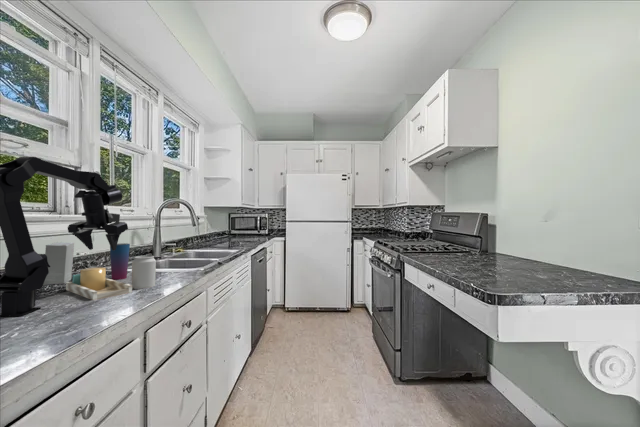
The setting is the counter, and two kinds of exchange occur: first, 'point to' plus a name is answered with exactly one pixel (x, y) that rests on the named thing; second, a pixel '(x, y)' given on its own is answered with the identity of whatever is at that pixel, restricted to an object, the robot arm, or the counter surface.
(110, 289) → the tray
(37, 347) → the counter surface
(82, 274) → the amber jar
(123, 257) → the cup
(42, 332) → the counter surface
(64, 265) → the skincare box
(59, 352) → the counter surface
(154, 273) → the can
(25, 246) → the robot arm
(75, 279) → the pusher plate
